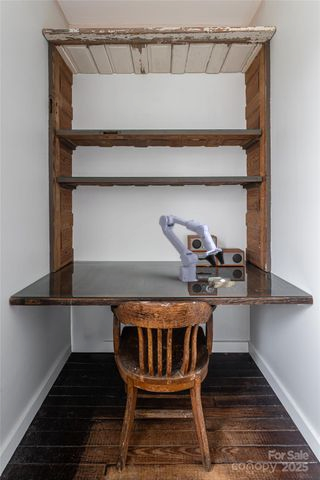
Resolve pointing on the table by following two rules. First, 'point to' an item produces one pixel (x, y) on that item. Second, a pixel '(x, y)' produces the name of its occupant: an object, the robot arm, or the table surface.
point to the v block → (214, 278)
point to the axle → (221, 280)
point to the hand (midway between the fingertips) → (219, 265)
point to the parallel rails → (222, 284)
